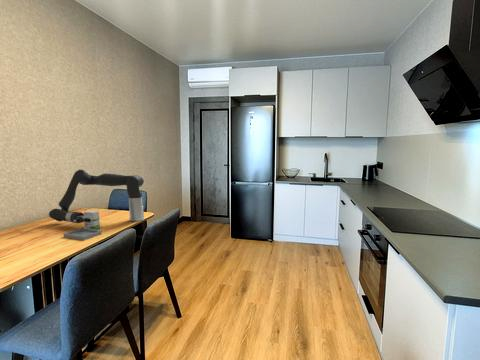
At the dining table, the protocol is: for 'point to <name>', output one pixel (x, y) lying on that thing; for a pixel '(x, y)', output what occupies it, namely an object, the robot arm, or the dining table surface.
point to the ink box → (92, 220)
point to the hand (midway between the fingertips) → (93, 219)
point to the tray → (82, 233)
